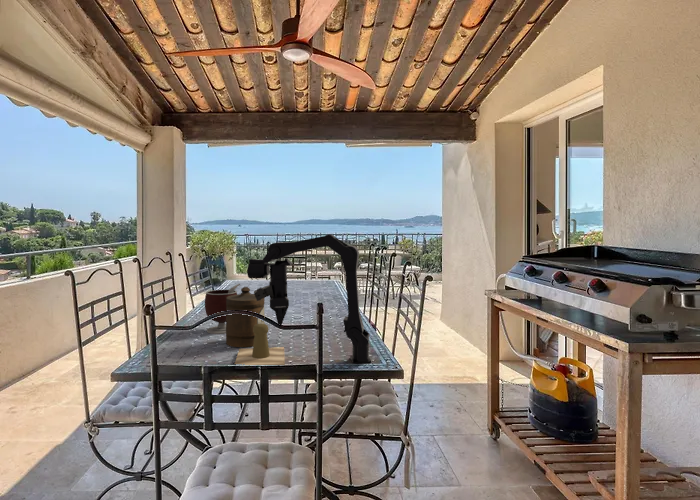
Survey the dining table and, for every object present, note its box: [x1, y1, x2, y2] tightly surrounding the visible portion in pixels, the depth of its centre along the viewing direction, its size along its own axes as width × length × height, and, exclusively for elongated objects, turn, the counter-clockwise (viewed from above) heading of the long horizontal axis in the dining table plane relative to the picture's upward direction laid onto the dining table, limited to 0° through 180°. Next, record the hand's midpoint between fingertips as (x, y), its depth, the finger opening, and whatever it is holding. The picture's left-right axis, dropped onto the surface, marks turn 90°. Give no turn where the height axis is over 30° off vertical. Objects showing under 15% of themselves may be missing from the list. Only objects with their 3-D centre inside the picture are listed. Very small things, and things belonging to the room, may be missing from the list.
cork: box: [252, 323, 270, 359], centre depth 143 cm, size 6×6×11 cm
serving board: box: [234, 346, 286, 366], centre depth 144 cm, size 18×16×2 cm
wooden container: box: [225, 286, 266, 348], centre depth 165 cm, size 15×15×22 cm
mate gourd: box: [204, 283, 241, 335], centre depth 183 cm, size 16×14×20 cm
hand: (279, 322), depth 146 cm, fingers open, 9 cm apart
